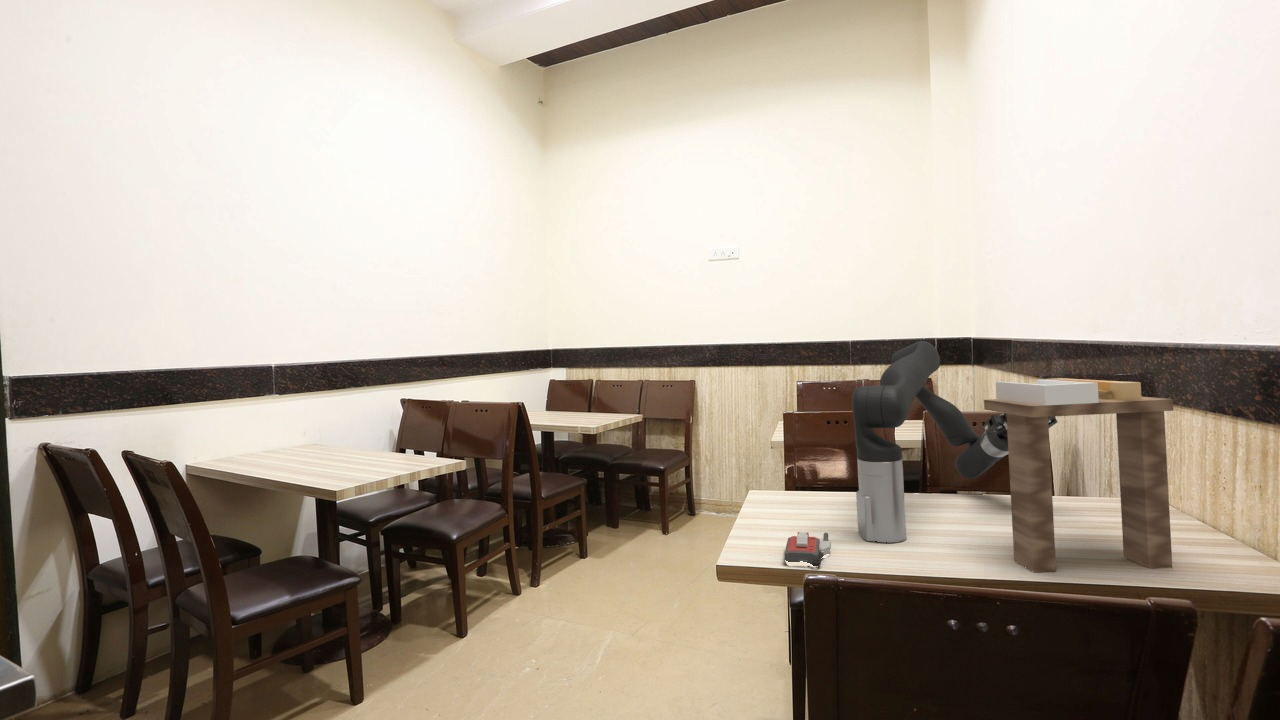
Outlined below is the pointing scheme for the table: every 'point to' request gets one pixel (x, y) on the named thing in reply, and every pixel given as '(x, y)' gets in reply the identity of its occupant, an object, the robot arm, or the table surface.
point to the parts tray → (1048, 392)
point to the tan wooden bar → (1114, 388)
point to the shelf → (1137, 475)
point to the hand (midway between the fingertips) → (1034, 410)
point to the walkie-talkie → (807, 548)
